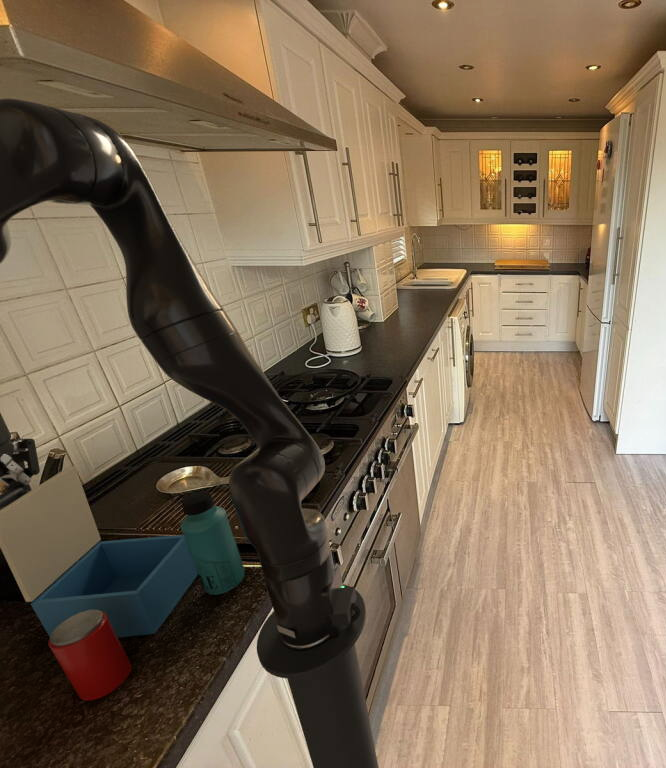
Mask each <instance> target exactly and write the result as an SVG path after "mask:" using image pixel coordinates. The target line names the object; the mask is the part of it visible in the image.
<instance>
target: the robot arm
mask: <svg viewBox="0 0 666 768" xmlns="http://www.w3.org/2000/svg"><path fill="white" fill-rule="evenodd" d="M47 202H49V203H53V204H61V205H63V204H64V205H81V206H90V208H92V209H93V210H94V211H95V213H96V214H97V216H98V217H99V218H100V219H101V220H102V222H103V223H104V225H105V227H106V228H107V229H108V231H109V232H110V234H111V236H112V238H113V239H114V240H115V242H116V244H117V246H118V248H119V250H120V252H121V255H122V258H123V261H124V265H125V289H126V291H125V294H126V295H125V297H126V298H125V299H126V310H127V316H128V319H129V322H130V325H131V328H132V330H133V331H134V333H135V334H136V336H137V337H138V339H139V341H140V342H141V343H142V345H143V346H144V347H145V348H146V350H147V351H148V353H149V354H150V356H151V357H152V359H153V360H154V361H155V363H156V364H157V366H158V367H159V368H160V369H161V370H162V372H163V373H164V374H165V375H166V376H167V377H168V378H170V379H171V380H172V381H173V382H175V383H176V384H178V385H179V386H181V387H182V388H184V389H186V390H187V391H189V392H190V393H193V394H195V395H197V396H198V397H200V398H202V399H204V400H206V401H209V402H211V403H212V404H214V405H216V406H218V407H219V408H222V409H223V410H225V411H226V412H228V413H229V414H231V415H232V416H233V417H234V419H236V420H237V421H238V422H239V423H240V424H241V425H242V427H243V428H244V429H245V430H246V431H247V433H248V434H249V435H250V437H251V439H252V440H253V442H254V443H255V445H256V447H257V449H256V450H254V451H253V452H252V453H250V454H249V455H248V456H247V457H245V458H244V459H242V461H240V462H239V463H238V464H236V466H234V468H233V469H232V470H231V471H230V474H229V478H228V489H229V495H230V498H231V501H232V505H233V507H234V509H235V512H236V515H237V517H238V519H239V522H240V525H241V528H242V530H243V533H244V535H245V538H246V539H247V541H248V542H249V544H250V545H251V546H252V547H253V548H254V550H256V553H257V556H258V560H259V563H260V564H259V565H260V567H261V570H262V574H263V578H264V581H265V585H266V589H267V592H268V596H269V599H270V602H271V606H272V609H273V611H274V613H275V616H276V620H277V623H278V625H277V627H278V631H279V632H280V636H281V640H282V642H283V644H284V645H285V646H286V647H287V648H288V649H290V650H294V651H306V650H310V649H314V648H316V647H318V646H320V645H322V644H324V643H325V642H327V641H328V640H329V639H332V638H337V637H338V635H339V632H340V628H341V626H343V625H349V624H352V623H353V622H354V621H355V620H356V619H357V618H358V617H359V616H360V613H361V610H360V608H359V606H357V605H356V604H355V601H356V592H355V590H356V587H355V586H353V585H352V586H350V587H344V586H343V584H344V583H343V579H342V578H343V577H342V574H341V569H340V568H341V567H340V565H339V563H338V562H334V560H333V559H334V558H333V554H332V548H331V544H330V539H329V535H328V528H327V523H326V519H325V517H324V515H323V514H322V513H321V512H320V511H318V510H316V509H313V508H309V507H302V501H304V499H305V498H307V496H308V495H309V494H310V492H312V490H313V489H314V488H315V487H316V486H317V484H318V483H319V482H320V481H321V479H322V478H323V476H324V475H325V470H326V462H325V458H324V455H323V453H322V451H321V448H320V447H319V445H318V444H317V442H316V441H315V440H314V438H313V436H311V435H310V432H308V431H307V429H306V428H305V427H304V426H303V424H302V423H301V422H300V420H299V419H298V418H297V417H296V416H295V414H294V413H293V411H291V409H290V408H289V407H288V405H287V404H286V403H285V402H284V400H283V399H282V397H281V396H280V395H279V394H278V392H277V390H276V389H275V388H274V386H273V384H272V383H271V381H270V380H269V378H268V377H267V376H266V374H265V372H264V371H263V369H262V368H261V366H260V365H259V363H258V362H257V360H256V359H255V357H254V356H253V355H252V353H251V352H250V350H249V348H248V347H247V344H246V343H245V342H244V340H243V338H242V336H241V334H240V332H239V331H238V329H237V328H236V326H235V324H234V323H233V321H232V320H231V318H230V316H229V315H228V314H227V311H226V310H225V309H224V307H223V306H222V305H221V303H220V302H219V300H218V298H217V297H216V295H214V294H215V293H214V292H213V291H212V290H211V288H210V287H209V285H208V283H207V281H206V280H205V277H203V275H202V273H201V272H200V270H199V268H198V267H197V265H196V263H195V262H194V260H193V258H192V257H191V255H190V253H189V252H188V250H187V249H186V247H185V245H184V243H183V242H182V240H181V238H180V236H179V235H178V233H177V231H176V229H175V228H174V225H173V224H172V221H171V220H170V217H169V216H168V213H167V212H166V210H165V208H164V205H163V203H162V201H161V200H160V198H159V195H158V194H157V192H156V190H155V188H154V186H153V184H152V181H151V179H150V178H149V176H148V174H147V172H146V170H145V168H144V167H143V164H142V163H141V161H140V159H139V157H138V155H137V154H136V153H135V151H134V150H133V148H132V147H131V145H130V144H129V143H128V142H127V141H126V140H125V138H124V137H123V136H122V135H121V134H120V133H119V132H118V131H117V130H116V129H114V128H113V127H111V126H110V125H108V124H106V123H105V122H103V121H101V120H99V119H97V118H94V117H90V116H87V115H84V114H81V113H77V112H73V111H68V110H66V109H65V110H64V109H60V108H56V107H52V106H49V105H44V104H42V103H37V102H33V101H28V100H24V99H18V98H17V99H16V98H0V265H2V263H3V262H4V261H5V260H6V258H7V257H8V255H9V253H10V250H11V245H12V239H11V238H12V237H11V233H10V229H9V227H8V223H9V222H10V220H11V219H13V218H14V217H15V216H17V215H18V214H20V213H22V212H24V211H26V210H27V209H29V208H32V207H34V206H36V205H39V204H41V203H47ZM11 438H12V434H11V432H10V429H9V427H8V425H7V423H6V422H5V419H4V417H3V415H2V413H1V412H0V482H1V483H3V485H5V486H8V487H7V488H6V491H8V490H9V489H11V488H13V487H21V488H23V489H24V490H32V487H31V485H30V483H31V481H32V479H31V478H33V476H37V475H39V474H40V471H41V468H40V463H39V458H38V457H39V456H38V452H37V446H36V442H35V439H34V438H27V437H25V438H12V439H11ZM25 462H26V464H27V467H26V464H25ZM353 610H354V611H355V614H354V615H353V616H352V613H353Z"/></svg>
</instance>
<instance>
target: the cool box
mask: <svg viewBox="0 0 666 768" xmlns="http://www.w3.org/2000/svg"><path fill="white" fill-rule="evenodd" d="M187 548H188V544H187V542H186V539H185V536H184V534H176V535H165V536H164V535H163V536H151V537H139V538H128V539H116V540H104V541H103V540H102V541H101V540H100V541H99V542H98V543H96V544H95V545H94V546H93V547H92V548H91V549H90V550H89V551H88V552H86V553H85V554H84V555H83V556H82V557H81V558H80V559H79V560H78V561H76V562H75V563H74V564H73V565H72V566H71V567H70V568H69V569H68V570H67V571H65V572H64V573H63V574H62V575H61V576H60V577H59V578H58V579H57V580H55V581H54V582H53V583H52V584H51V585H50V586H49V587H48V588H47V589H45V590H44V591H43V592H42V593H41V594H40V595H39V596H38V597H37V598H35V599H34V600H33V601H32V602H30V606H31V607H32V609H33V611H34V613H35V615H36V616H37V618H38V619H39V621H40V623H41V625H42V626H43V628H44V630H45V632H46V633H47V635H48V637H50V636H51V634H52V632H53V631H54V630H55V629H56V627H58V626H59V625H60V624H61V623H62V622H64V621H65V620H67V619H68V618H70V617H72V616H74V615H76V614H78V613H81V612H84V611H88V610H99V611H102V612H104V613H106V615H107V617H108V619H109V621H110V623H111V625H112V627H113V629H114V631H115V633H116V635H117V637H118V639H120V638H128V637H137V636H147V635H155V634H157V633H158V631H159V629H160V628H161V627H162V625H163V624H164V623H165V621H166V620H167V618H168V617H169V616H170V614H171V613H172V611H173V610H174V609H175V607H176V606H177V604H178V603H179V602H180V600H181V599H182V598H183V596H184V595H185V593H186V592H187V590H189V588H190V587H191V585H192V584H193V583H194V581H195V579H196V578H198V576H199V574H198V572H197V569H196V566H195V564H194V561H193V558H192V556H191V553H189V552H190V550H189V548H188V549H187ZM188 550H189V551H188ZM196 572H197V573H196Z"/></svg>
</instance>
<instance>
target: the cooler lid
mask: <svg viewBox="0 0 666 768" xmlns="http://www.w3.org/2000/svg"><path fill="white" fill-rule="evenodd" d="M80 479H81V478H80V476H79V473H78V471H77V468H76V465H69V466H67V467H66V468H64V469H63V470H61V471H60V472H58V473H56V474H55V475H53V476H52V477H50V478H49V479H47V480H45V481H44V482H42V483H41V484H39V485H38V486H35V488H33V489H31V490H24V489H23V488H21V487H13V488H11V489H9V490H8V491H7V490H6V491H4V492H3V493H1V494H0V550H1V552H2V554H3V556H4V558H5V561H6V562H7V565H8V567H9V568H10V571H11V573H12V575H13V577H14V580H15V581H16V584H17V586H18V588H19V590H20V593H21V594H22V596H23V599H24V601H25V603H32V602H33V601H35V600H36V599H37V598H38V597H39V596H40V595H41V594H42V593H44V592H45V591H46V590H47V589H48V588H49V587H50V586H51V585H52V584H53V583H55V582H56V581H57V580H58V579H59V578H60V577H61V576H62V575H63V574H65V573H66V572H67V571H68V570H69V569H70V568H71V567H72V566H73V565H75V564H76V563H77V562H78V561H79V560H80V559H81V558H82V557H83V556H84V555H86V554H87V553H88V552H89V551H90V550H91V549H92V548H93V547H94V546H96V545H97V544H98V543H99V542H101V540H102V538H101V536H100V532H99V529H98V527H97V523H96V522H95V521H96V520H95V519H94V516H93V513H92V510H91V508H90V507H91V506H90V505H89V502H88V499H87V495H86V492H85V491H84V487H83V485H82V482H81V480H80Z"/></svg>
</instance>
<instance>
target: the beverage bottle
mask: <svg viewBox="0 0 666 768" xmlns="http://www.w3.org/2000/svg"><path fill="white" fill-rule="evenodd" d="M181 505H182V511H183V514H184V515H185V518H183V520H182V521H181V524H180V530H181V532H182V535H184V536H185V539H186V542H187V544H188V548H189V550H190V552H189V553H191V556H192V558H193V561H194V564H195V566H196V569H197V572H198V576H197V578H198V580H199V583H200V585H201V587H202V589H203V591H204V592H206V593H207V594H208V595H213V596H215V595H216V596H217V595H221V594H222V595H223V594H225V593H228V592H229V591H232V590H233V589H235V588H236V587H237V586H239V585H240V583H241V582H242V581H243V580H244V578H245V574H246V570H245V565H244V562H243V559H242V556H241V553H240V552H241V551H240V549H239V547H238V545H237V542H236V539H235V537H234V535H233V532H232V529H231V525H230V522H229V519H228V515H227V510H226V509H225V508H223V507H221V506H217V505H215V500H214V498H213V496H212V493H211V492H210V491H207V490H200V491H195V492H192V493H190V494H188V495H187V496H185V497H184V498H183V499H182V500H181ZM188 548H187V549H188ZM189 550H188V551H189ZM197 572H196V573H197Z"/></svg>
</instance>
